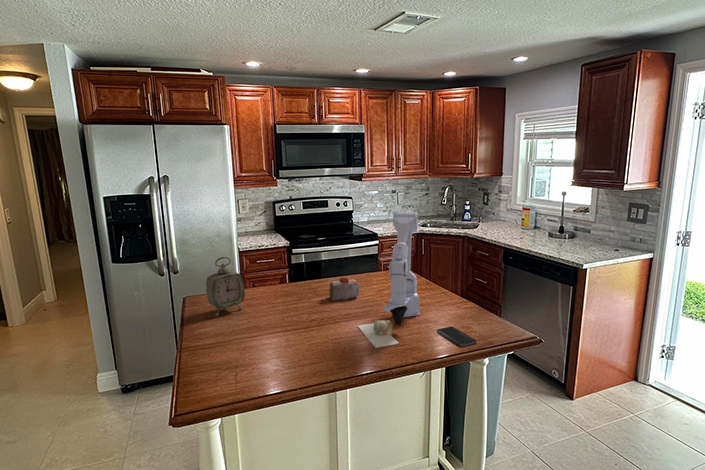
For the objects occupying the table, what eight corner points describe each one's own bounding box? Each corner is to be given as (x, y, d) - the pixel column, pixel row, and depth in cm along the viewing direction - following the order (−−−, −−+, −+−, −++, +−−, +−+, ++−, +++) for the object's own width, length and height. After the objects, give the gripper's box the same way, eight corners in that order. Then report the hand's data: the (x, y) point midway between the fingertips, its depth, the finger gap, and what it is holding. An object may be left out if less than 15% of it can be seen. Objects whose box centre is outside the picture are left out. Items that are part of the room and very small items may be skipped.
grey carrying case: (354, 293, 205) (354, 274, 203) (360, 298, 197) (360, 278, 195) (328, 297, 200) (328, 277, 198) (333, 302, 192) (333, 282, 191)
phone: (460, 345, 145) (435, 329, 158) (460, 348, 145) (435, 332, 158) (478, 341, 148) (452, 326, 161) (478, 344, 148) (452, 328, 161)
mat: (378, 323, 167) (378, 322, 167) (398, 344, 148) (398, 343, 148) (357, 326, 164) (357, 325, 164) (375, 347, 145) (375, 346, 145)
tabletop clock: (214, 318, 175) (210, 261, 170) (206, 313, 181) (201, 258, 177) (246, 310, 184) (242, 256, 179) (237, 305, 191) (233, 252, 186)
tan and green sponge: (389, 320, 159) (374, 320, 157) (393, 324, 155) (378, 324, 153) (387, 330, 159) (373, 330, 157) (391, 334, 156) (377, 334, 154)
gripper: (401, 284, 163) (401, 316, 166) (377, 293, 153) (377, 327, 156) (416, 288, 159) (415, 321, 161) (392, 297, 148) (392, 332, 151)
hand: (398, 324), depth 158 cm, fingers closed
